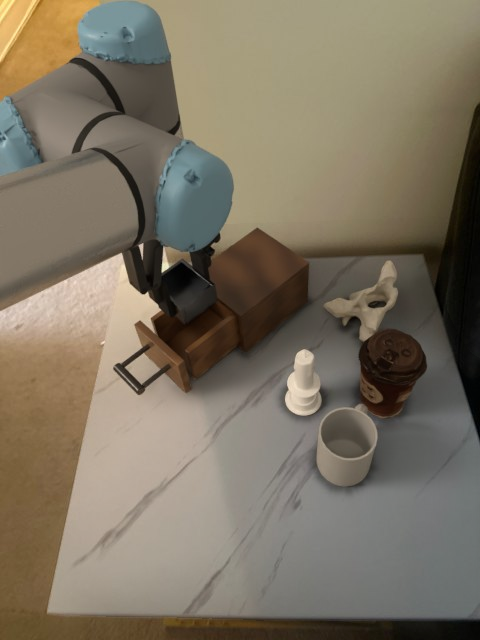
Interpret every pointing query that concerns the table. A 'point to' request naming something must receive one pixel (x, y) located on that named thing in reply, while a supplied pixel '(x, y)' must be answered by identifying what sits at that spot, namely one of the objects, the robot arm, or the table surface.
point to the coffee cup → (389, 370)
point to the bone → (368, 296)
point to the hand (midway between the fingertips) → (185, 297)
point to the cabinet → (260, 284)
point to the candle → (303, 386)
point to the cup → (346, 445)
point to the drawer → (183, 346)
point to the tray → (188, 290)
